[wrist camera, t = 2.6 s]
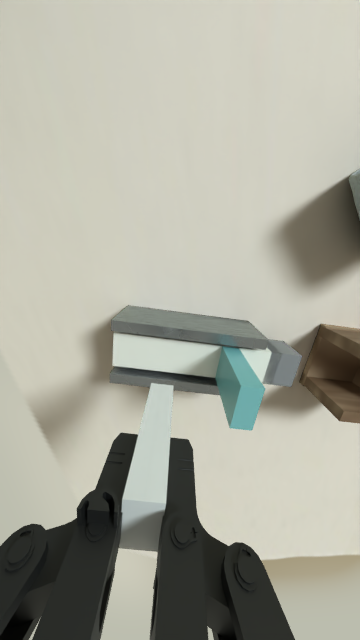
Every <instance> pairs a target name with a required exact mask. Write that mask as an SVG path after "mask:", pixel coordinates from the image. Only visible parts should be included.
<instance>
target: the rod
mask: <svg viewBox="0 0 360 640" xmlns="http://www.w3.org/2000/svg"><path fill="white" fill-rule="evenodd" d="M268 340H269V341H268V345H267V348H266V350H261V349H253V348H245V347H237V346H229V345H221V344H213V343H205V342H197V341H189V340H181V339H173V338H165V337H157V336H149V335H141V334H133V333H125V332H117V331H115V332H114V335H113V366H119V367H128V368H136V369H145V370H153V371H162V372H170V373H179V374H187V375H195V376H204V377H212V378H215V379H216V382H217V386H218V389H219V393H220V396H221V399H222V403H223V406H224V410H225V413H226V417H227V420H228V424H229V427H230V428H234V429H243V430H252V429H253V426H254V423H255V420H256V417H257V413H258V410H259V407H260V404H261V401H262V398H263V394H264V391H265V388H264V386H263V385H262V383H263V384H272V385H280V386H288V387H291V386H292V383H293V380H294V378H295V375H296V372H297V369H298V367H299V364H300V361H301V358H302V355H300V354H299V353H298V352H297V351H295V350H294V349H293V348H292V347H290V346H289V345H288V344H287V343H285V342H284V341H278V340H270V339H268Z"/></svg>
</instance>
